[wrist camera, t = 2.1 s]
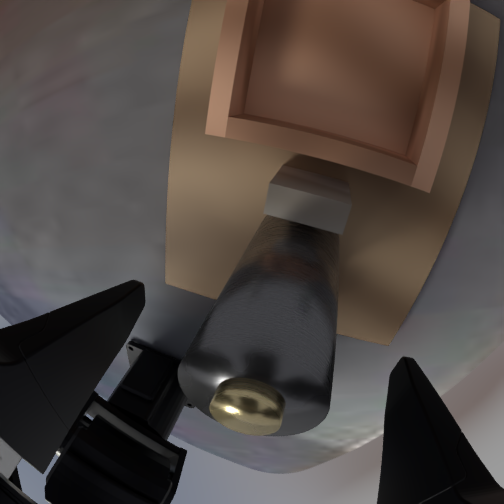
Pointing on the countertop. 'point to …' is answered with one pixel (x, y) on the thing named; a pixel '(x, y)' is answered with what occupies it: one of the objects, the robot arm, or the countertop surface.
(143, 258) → the countertop surface
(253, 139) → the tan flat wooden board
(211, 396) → the cell
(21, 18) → the countertop surface
